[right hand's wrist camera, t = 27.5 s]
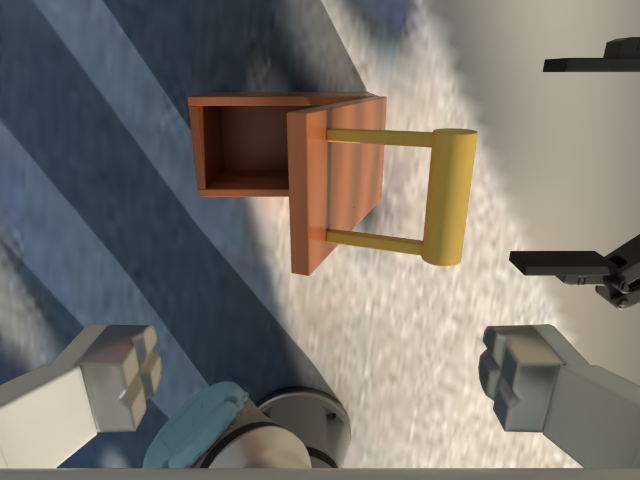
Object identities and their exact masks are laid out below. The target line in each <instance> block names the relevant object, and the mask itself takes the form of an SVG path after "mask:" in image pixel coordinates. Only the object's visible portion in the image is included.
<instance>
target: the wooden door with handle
mask: <svg viewBox="0 0 640 480" xmlns="http://www.w3.org/2000/svg"><path fill="white" fill-rule="evenodd" d="M386 102H387V97H369V98H363V99H358V100H352V101H347V102H341V103H336V104H330V105H325V106H319V107H313V108H308V109H302V110H297V111H291V112H287V140H288V172H289V204H290V236H291V268H292V273H295V274H301V275H306V276H309V275H310V274H311V273H312V272H313V271H314V270H315V269H316V268H317V267H318V266H319V265H320V264H321V263H322V261H323V260H324V259H325V258H326V257H327V256H328V255H329V254H330V253H331V252H332V251H333V250H334V249H335V248H336V247H337V245H338V244H344V245H351V246H358V247H365V248H372V249H379V250H386V251H393V252H400V253H407V254H414V255H421V256H422V259H423V260H424V261H425V262H427V263H429V264H432V265H436V266H454V265H457V264H459V263H460V261H461V255H462V247H463V240H464V232H465V225H466V217H467V209H468V202H469V194H470V187H471V179H472V171H473V164H474V156H475V149H476V141H477V131H474V130H468V129H436V130H434V131H433V132H413V131H390V130H385V122H386ZM384 145H400V146H418V147H432V151H431V161H430V172H429V183H428V194H427V204H426V215H425V226H424V236H423V241H421V240H413V239H406V238H398V237H390V236H383V235H375V234H367V233H360V232H352V229H353V228H354V227H355V226H356V225H357V224H358V223H359V222H360V221H361V220H362V219H363V218H364V217H365V216H366V215H367V214H368V212H369V211H370V210H371V209H372V208H373V207H374V206H375V205H376V204H377V203H378V202H379V201H380V200H381V198H382V179H383V160H384Z"/></svg>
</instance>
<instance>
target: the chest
mask: <svg viewBox="0 0 640 480" xmlns="http://www.w3.org/2000/svg"><path fill="white" fill-rule="evenodd" d="M369 97H379V96H377V95H374V94H371V93H369V92H217V93H208V94H202V95H196V96H190V97H187V98H188V106H189V116H190V124H191V133H192V142H193V151H194V160H195V168H196V177H197V186H198V194H199V197H289V172H288V140H287V112H291V111H297V110H302V109H308V108H313V107H319V106H325V105H330V104H336V103H341V102H347V101H352V100H358V99H363V98H369Z"/></svg>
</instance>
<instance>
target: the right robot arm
mask: <svg viewBox="0 0 640 480" xmlns="http://www.w3.org/2000/svg"><path fill="white" fill-rule="evenodd" d="M156 342H157V336H156V332H155V329H154V328H153V327H152V326H149V325H89V326H86V327H85V328H84V329H83V330H82V331H81V332H80V333H79V334H78V335H77V336H76V337H75V339H74V340H73V341H72V342H71V343H70V344H69V345H68V346H67V347H66V348H65V349H64V350H63V351H62V352H61V353H60V354H59V356H58V357H57V358H56V359H55V360H54V361H53V362H52V363H51V364H50V365H45V366H40V367H38V368H36V369H34V370H32V371H30V372H28V373H25V374H23V375H21V376H19V377H17V378H15V379H13V380H11V381H9V382H6V383H4V384H2V385H0V480H640V385H638V384H636V383H634V382H631V381H629V380H627V379H625V378H623V377H621V376H619V375H617V374H614V373H612V372H610V371H608V370H606V369H604V368H602V367H600V366H595V365H590V364H589V363H588V362H587V361H586V360H585V359H584V358H583V357H582V356H581V354H580V353H579V352H578V351H577V350H576V349H575V348H574V347H573V346H572V345H571V344H570V343H569V342H568V341H567V340H566V338H565V337H564V336H563V335H562V334H561V333H560V332H559V331H558V330H557V329H556V328H555V327H554V326H552V325H549V324H544V325H519V326H487V327H486V329H485V331H484V336H483V342H484V344H485V346H486V347H487V349H486V350H485V351H484V352H483V353H482V354H481V355H480V360H479V367H478V368H479V379H480V382H481V386H482V388H483V390H484V392H485V394H486V396H488V397H489V398H491V399H492V400H494V407H493V410H494V412H495V414H496V416H497V418H498V419H499V421H500V423H501V425H502V427H503V429H504V431H511V432H543V435H544V436H546V437H547V438H548V439H549V440H551V441H552V442H553V443H554V444H556V445H557V446H558V447H559V448H560V449H562V450H563V451H564V452H565V453H567V454H568V455H569V456H570V457H571V458H573V459H574V460H575V461H576V462H578V463H579V464H580V465H581V466H583V467H584V468H56V467H58V466H59V465H60V464H61V463H62V462H64V461H65V460H66V459H67V458H69V457H70V456H71V455H72V454H74V453H75V452H76V451H77V450H78V449H80V448H81V447H82V446H83V445H85V444H86V443H87V442H88V441H90V440H91V439H92V438H93V437H94V436H96V435H97V432H128V431H136V429H137V427H138V425H139V423H140V421H141V419H142V418H143V416H144V414H145V412H146V410H147V407H146V400H148V399H149V398H151V397H152V396H154V394H155V392H156V390H157V388H158V386H159V382H160V377H161V359H160V355H159V354H158V353H157V352H156V351H155V350H154V349H153V347H154V346H155V344H156Z"/></svg>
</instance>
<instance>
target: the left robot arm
mask: <svg viewBox="0 0 640 480" xmlns="http://www.w3.org/2000/svg"><path fill="white" fill-rule="evenodd" d="M543 72H640V37H629V38H621V39H615V40H612V41H610V42H607V44H606V48H605V53H604V57H603V58H561V59H546V60H545V62H544V68H543ZM509 261H510V262H511V263H512V264H514V265H515V266H516V267H517V268H518V269H519V270H520V271H521V272H522V273H523V274H524V275H555V276H556V277H557V278H559V279H560V280H561V281H562V282H563V283H565V284H568V285H596V287H595V290H596V292H597V293H598V294H599V295H601V296H602V297H603V298H604V299H606V300H607V301H608V302H609V303H611V304H612V305H613V306H615V307H616V308H617V309H621V310H622V309H626V308H628V307H631V306H634V305H636V304H639V303H640V234H639V235H638V236H636V237H635V238H633V239H632V240H630V241H628V242H627V243H625V244H624V245H622V246H621V247H619V248H617V249H616V250H614V251H613V252H611V253H610V254H608V255H607V256H605V257H603V256H602V255H600V254H598V253H597V252H595V251H510V257H509ZM350 440H351V430H350V421H349V417H348V415H347V412H346V411H345V409H344V408H343V406H342V405H341V404H340V403H339V402H338V401H337V400H336V399H334V398H333V397H332V396H330V395H328V394H326V393H324V392H322V391H319V390H315V389H311V388H304V387H293V388H286V389H282V390H278V391H276V392H273V393H271V394H269V395H267V396H266V397H264V398H263V399H262V400H261V401H260V402H258V404H257V405H256V406H255V404H254V403H253V402H252V401H251V399H250V398H249V394H248V392H244V391H243V390H242V389H241V388H240V387H239V386H238V385H237V384H236V383H234V382H230V381H224V382H220V383H217V384H214V385H212V386H210V387H208V388H206V389H205V390H203V391H201V392H200V393H198V394H197V395H195V396H194V397H193V398H191V399H190V400H189V401H188V402H187V403H185V404H184V405H183V406H182V407H181V408H180V409H179V410H178V411H177V412H176V413H175V414H174V415H173V416H172V417H171V418H170V419H169V420H168V421H167V422H166V423H165V425H164V426H163V427H162V428H161V429H160V431H159V432H158V433H157V435H156V436H155V438H154V440H153V441H152V443H151V444H150V446H149V448H148V450H147V452H146V454H145V457H144V461H143V468H342V467H343V464H344V461H345V458H346V455H347V451H348V448H349V445H350Z"/></svg>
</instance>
